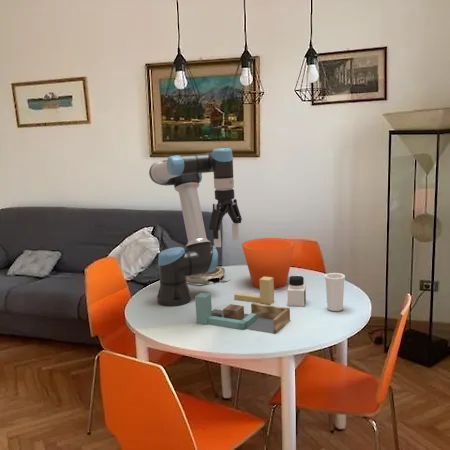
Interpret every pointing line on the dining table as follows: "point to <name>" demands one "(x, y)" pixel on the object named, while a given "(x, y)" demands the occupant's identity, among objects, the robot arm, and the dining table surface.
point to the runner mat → (256, 323)
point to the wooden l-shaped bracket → (272, 314)
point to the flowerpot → (269, 259)
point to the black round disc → (217, 314)
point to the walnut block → (234, 312)
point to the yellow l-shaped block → (265, 293)
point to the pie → (206, 277)
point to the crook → (206, 317)
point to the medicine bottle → (296, 291)
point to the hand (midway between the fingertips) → (227, 243)
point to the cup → (334, 291)
